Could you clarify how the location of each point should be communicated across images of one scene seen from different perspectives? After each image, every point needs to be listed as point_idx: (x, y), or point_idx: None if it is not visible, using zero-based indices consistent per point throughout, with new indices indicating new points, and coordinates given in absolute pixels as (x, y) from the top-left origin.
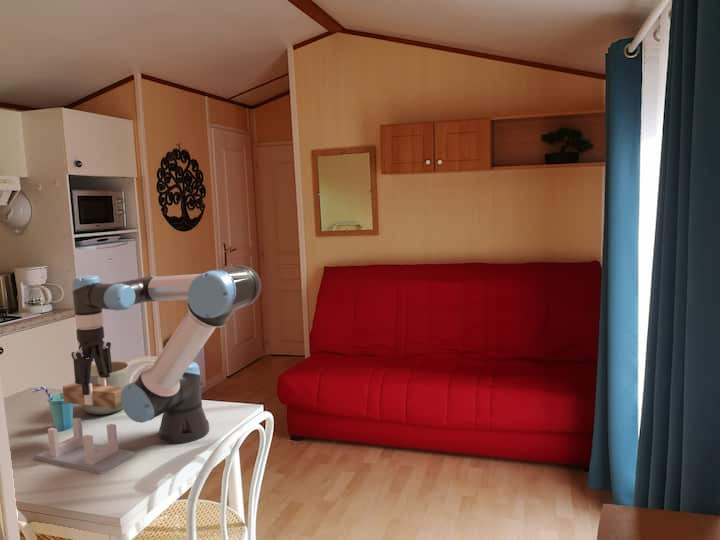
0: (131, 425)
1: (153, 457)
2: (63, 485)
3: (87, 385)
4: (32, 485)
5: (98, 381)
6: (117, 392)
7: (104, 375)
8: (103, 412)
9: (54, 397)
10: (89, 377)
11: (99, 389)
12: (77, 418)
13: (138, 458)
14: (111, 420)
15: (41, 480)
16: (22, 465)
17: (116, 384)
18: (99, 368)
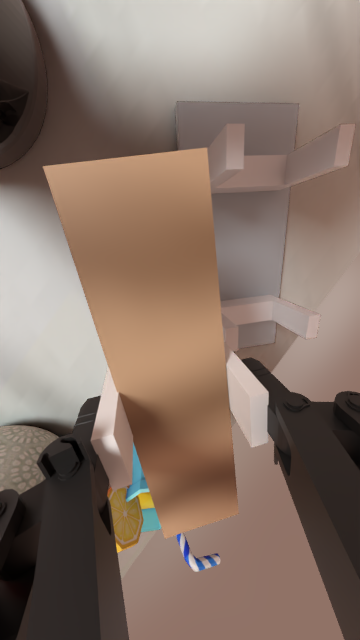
0: (40, 317)
1: (154, 12)
2: (349, 160)
3: (273, 397)
4: (355, 232)
5: (130, 451)
6: (170, 154)
7: (93, 470)
8: (50, 432)
9: (152, 521)
10: (304, 447)
11: (193, 347)
12: (228, 340)
13: (182, 74)
14: (56, 390)
15: (336, 236)
16: (294, 333)
17: None
18: (115, 596)
